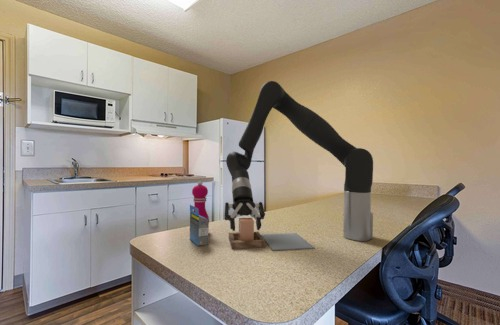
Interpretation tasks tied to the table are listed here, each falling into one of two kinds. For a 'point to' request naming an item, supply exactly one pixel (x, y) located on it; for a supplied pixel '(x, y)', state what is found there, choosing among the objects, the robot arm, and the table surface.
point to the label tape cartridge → (198, 227)
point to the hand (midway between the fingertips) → (246, 229)
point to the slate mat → (286, 241)
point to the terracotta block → (246, 229)
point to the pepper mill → (200, 199)
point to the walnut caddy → (246, 244)
